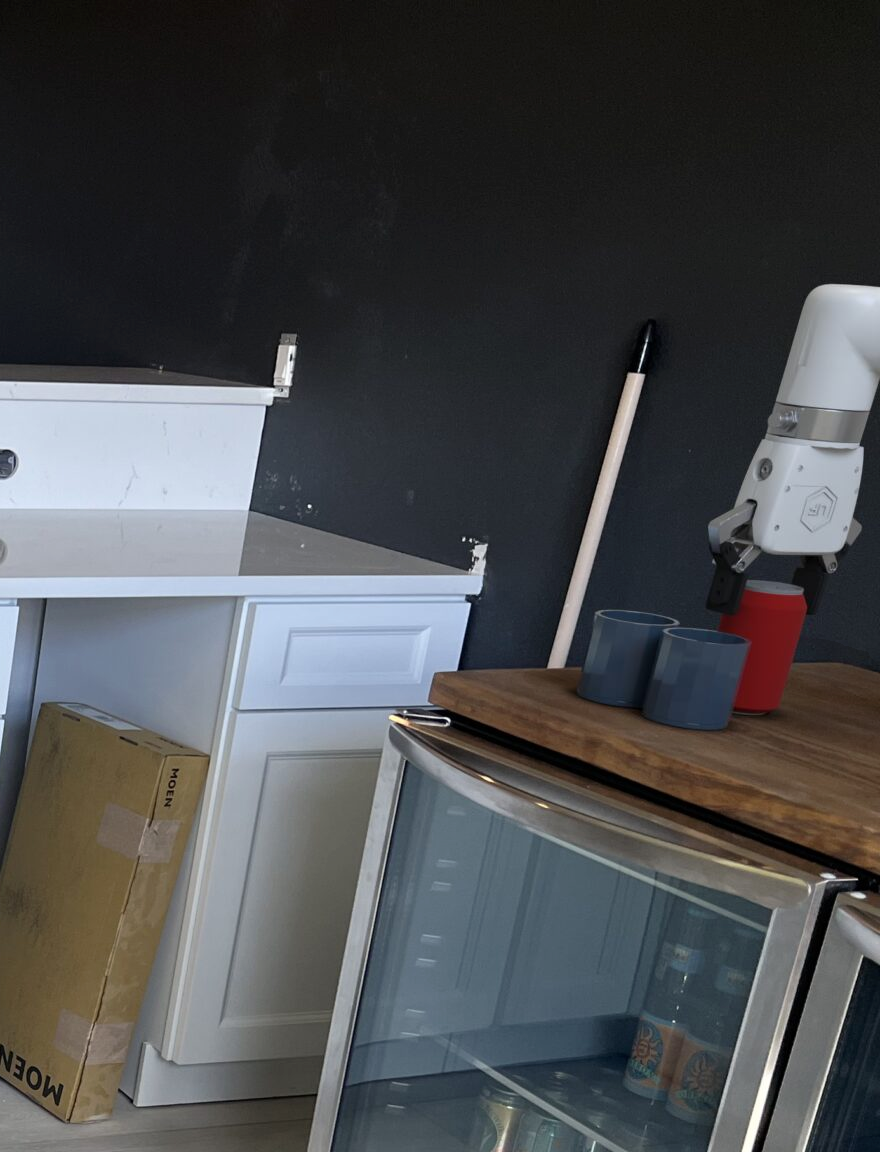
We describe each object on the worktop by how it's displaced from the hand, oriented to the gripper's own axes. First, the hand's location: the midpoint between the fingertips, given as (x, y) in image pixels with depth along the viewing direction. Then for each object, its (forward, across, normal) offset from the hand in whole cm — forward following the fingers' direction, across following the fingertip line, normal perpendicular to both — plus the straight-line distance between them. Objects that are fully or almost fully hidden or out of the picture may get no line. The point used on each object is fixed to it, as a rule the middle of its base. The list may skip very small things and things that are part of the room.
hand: (760, 612), depth 179 cm
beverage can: (+10, 0, -1) cm, 10 cm away
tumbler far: (+10, -10, +5) cm, 14 cm away
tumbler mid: (+9, -10, -4) cm, 14 cm away
